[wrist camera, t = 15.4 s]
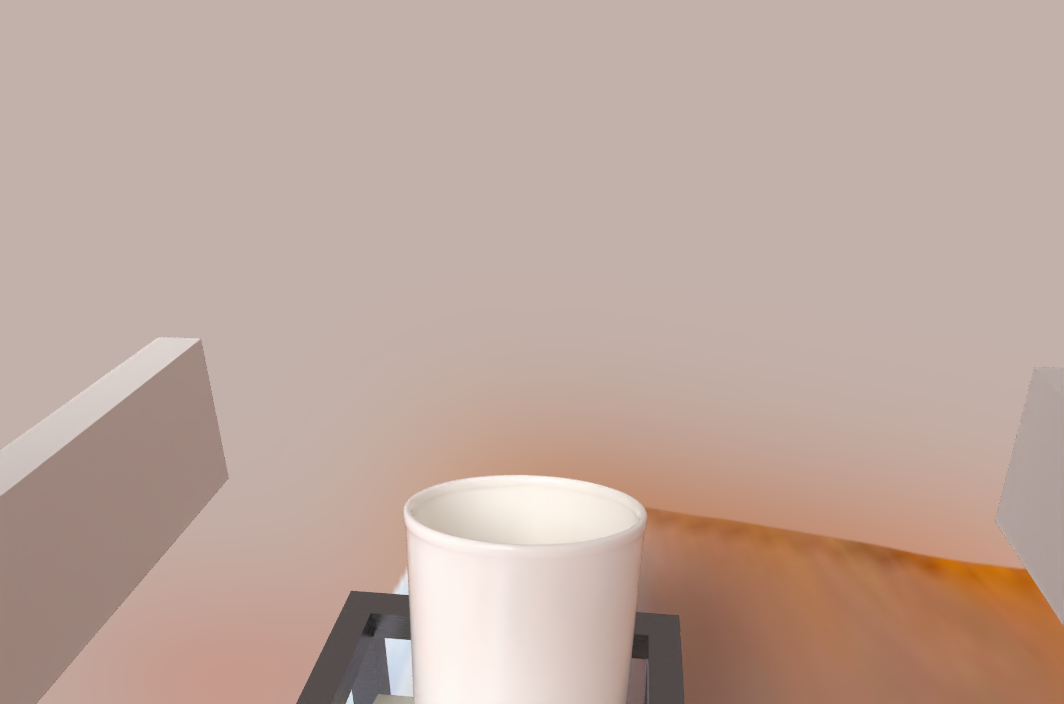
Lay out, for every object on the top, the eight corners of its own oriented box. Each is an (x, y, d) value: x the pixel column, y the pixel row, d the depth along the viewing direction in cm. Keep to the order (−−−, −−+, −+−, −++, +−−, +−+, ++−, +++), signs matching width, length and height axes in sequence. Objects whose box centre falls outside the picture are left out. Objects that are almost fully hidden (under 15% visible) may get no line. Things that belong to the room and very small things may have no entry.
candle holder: (435, 709, 40) (438, 468, 39) (637, 730, 38) (648, 481, 37) (365, 849, 30) (367, 534, 29) (632, 885, 29) (646, 555, 28)
